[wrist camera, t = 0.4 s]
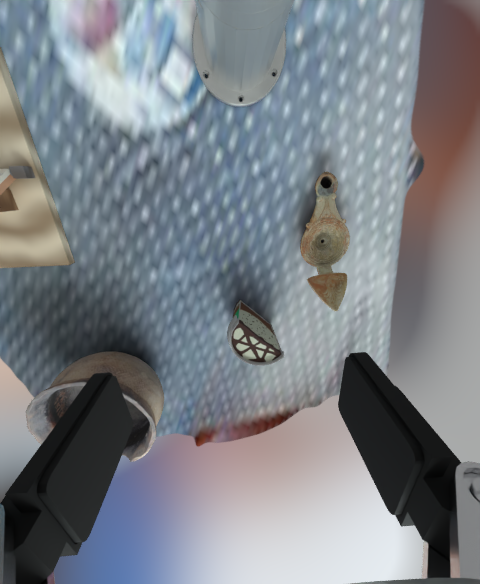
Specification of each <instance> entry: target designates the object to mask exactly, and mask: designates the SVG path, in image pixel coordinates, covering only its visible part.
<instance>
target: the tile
mask: <svg viewBox="0 0 480 584" xmlns="http://www.w3.org/2000/svg"><path fill="white" fill-rule="evenodd" d="M14 180H15V178H13V176H12V173H11V171H10V168H9V169H0V195H1V194H2V193H3V192H4V191H5V190H6V189H7V188H8V187H9V186H10V185H11V184H12V183H13V181H14Z"/></svg>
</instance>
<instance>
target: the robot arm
mask: <svg viewBox="0 0 480 584" xmlns="http://www.w3.org/2000/svg"><path fill="white" fill-rule="evenodd" d="M195 2H196V7H197V16H196V19H195V23H194V29H193V53H194V59H195V63H196V67H197V70H198V73H199V75H200V78H201V80H202V81H203V83H204V85H205V86H206V88H207V89H208V90H209V92H210V93H211V94H212V95H213V96H214V97H215V98H217V99H218V100H219V101H221V102H223V103H225V104H227V105H230V106H234V107H246V106H250V105H253V104H255V103H257V102H259V101H260V100H262V99H263V98H264V97H266V95H267V94H268V93H269V92H270V91H271V90H272V88H273V87H274V85H275V83H276V82H277V80H278V78H279V76H280V73H281V70H282V67H283V64H284V59H285V54H286V34H285V25H286V22H287V19H288V17H289V14H290V11H291V8H292V5H293V2H294V0H195ZM273 73H274V74H275V77H273V76H272V74H273ZM206 75H208V78H207V79H206V78H205V76H206ZM240 98H241V99H242V100H243V101H242V102H240V101H239V99H240ZM338 407H339V411H340V413H341V415H342V418H343V420H344V422H345V424H346V426H347V428H348V430H349V432H350V434H351V436H352V438H353V440H354V442H355V444H356V446H357V448H358V450H359V452H360V454H361V456H362V458H363V460H364V462H365V464H366V466H367V469H368V471H369V472H370V475H371V477H372V479H373V480H374V483H375V485H376V487H377V489H378V491H379V493H380V495H381V497H382V499H383V501H384V503H385V505H386V507H387V509H388V511H389V512H390V513H391V514H392V515H396V517H397V519H398V521H399V523H400V525H401V526H411V525H415V526H416V528H417V530H418V532H419V534H420V535H421V537H422V539H423V540H424V546H423V566H422V579H411V580H410V579H409V580H392V581H375V582H364V583H352V584H480V463H475V462H464V463H461V462H460V461H459V459H458V458H457V457H456V456H455V455H454V453H453V452H452V451H451V450H450V449H449V448H448V446H447V445H446V444H445V443H444V442H443V440H442V439H441V438H440V437H439V436H438V434H437V433H436V432H435V431H434V430H433V429H432V427H431V426H430V425H429V424H428V423H427V421H426V420H425V419H424V418H423V417H422V416H421V414H420V413H419V412H418V411H417V410H416V408H415V407H414V406H413V405H412V404H411V402H410V401H409V400H408V399H407V398H406V396H405V395H404V394H403V393H402V392H401V391H400V390H399V389H398V388H397V387H396V386H394V385H393V384H392V383H391V381H390V380H389V379H388V378H387V376H386V375H385V374H384V373H383V372H382V370H381V369H380V368H379V367H378V366H377V364H376V363H375V362H374V361H373V359H372V358H371V357H370V356H369V355H368V354H367V353H366V352H361V353H351V354H350V355H349V357H346V359H345V364H344V370H343V377H342V383H341V390H340V396H339V402H338ZM132 427H133V420H132V417H131V415H130V412H129V409H128V407H127V404H126V401H125V399H124V396H123V393H122V391H121V388H120V385H119V383H118V380H117V377H116V376H113V375H112V373H110V372H107V373H95V374H93V375H92V376H91V378H90V379H89V380H88V382H87V383H86V384H85V386H84V387H83V388H82V390H81V391H80V393H79V394H78V395H77V397H76V398H75V399H74V401H73V402H72V404H71V405H70V406H69V408H68V409H67V410H66V412H65V413H64V414H63V416H62V417H61V419H60V420H59V421H58V423H57V424H56V425H55V427H54V428H53V430H52V431H51V432H50V434H49V435H48V436H47V438H46V439H45V441H44V442H43V443H42V445H41V446H40V447H39V449H38V450H37V452H36V453H35V454H34V456H33V457H32V458H31V460H30V461H29V462H28V464H27V465H26V467H25V468H24V469H23V471H22V472H21V474H20V475H19V476H18V478H17V479H16V480H15V482H14V483H13V484H12V486H11V487H10V488H9V490H8V491H7V493H6V494H5V495H6V496H5V498H4V499H3V501H2V502H1V503H0V584H55V580H54V568H55V566H56V564H57V562H58V560H59V557H60V556H69V555H77V554H78V551H79V549H80V547H81V544H82V542H84V541H86V540H87V538H88V537H89V535H90V533H91V530H92V528H93V525H94V523H95V520H96V518H97V515H98V513H99V510H100V508H101V506H102V503H103V500H104V498H105V496H106V493H107V491H108V488H109V486H110V483H111V481H112V478H113V476H114V473H115V471H116V468H117V466H118V463H119V461H120V458H121V456H122V453H123V451H124V448H125V446H126V443H127V441H128V438H129V436H130V433H131V431H132Z"/></svg>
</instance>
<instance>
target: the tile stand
mask: <svg viewBox="0 0 480 584" xmlns="http://www.w3.org/2000/svg"><path fill="white" fill-rule="evenodd" d="M9 168H10V171H11V173H12V176H13V178H15V180H14V181H13V183H12V184H11V185H10V186H9V187H8V188H7V189H6V190H5V191H4V192H3V193H2V194H1V195H0V268H11V267H34V266H56V265H71V264H73V263H75V261H74V259H73V256H72V253H71V250H70V247H69V244H68V241H67V238H66V235H65V232H64V230H63V227H62V224H61V221H60V218H59V215H58V212H57V209H56V206H55V203H54V201H53V198H52V195H51V192H50V189H49V186H48V183H47V180H46V177H45V174H44V172H43V169H42V166H41V163H40V160H39V157H38V154H37V151H36V148H35V145H34V143H33V140H32V137H31V134H30V131H29V128H28V125H27V122H26V119H25V116H24V114H23V111H22V108H21V105H20V102H19V99H18V96H17V93H16V90H15V87H14V85H13V82H12V79H11V76H10V73H9V70H8V67H7V64H6V61H5V58H4V56H3V53H2V50H1V47H0V169H9Z"/></svg>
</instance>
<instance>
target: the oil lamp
mask: <svg viewBox="0 0 480 584" xmlns="http://www.w3.org/2000/svg"><path fill="white" fill-rule="evenodd" d="M337 186H338V182H337V179H336V177H335V176H334V175H333V174H331V173H329V172H327V171H326V172H324V173H322V174H321V175H320V176H319V178H318V179H317V181H316V185H315V190H316V195H317V198H316V206H315V209H314V212H313V215H312V217H311V219H310V222H309V223H307V224H306V230H305V232H304V234H303V236H302V239H301V245H300V249H301V254H302V256H303V258H304V260H305V261H306V262H307V263H309V264H310V265H312V266H315V267H317V271H318V274H319V275H317V276H313V277H310V278H308V279H307V281H308V283H309V285H310V286H311V288H312V289H313V291H314V292H315V293H316V294H317V295H318V297H319V298H320V299H321V300H322V301H323V302H324V303H325V304H326V305H327V306H329V307H330V308H331V309H332V310H334V311H338V309H339V306H340V304H341V302H342V300H343V297H344V294H345V291H346V286H347V275H346V274H345V273H333V271H332V268H331V266H332V265H333V264H335V263H336V262H338V261H339V260H340V259H341V258H342V257H343V255H344V254H345V253H346V251H347V249H348V246H349V241H350V235H349V231H348V229H347V227H346V226H345V224H344V223H345V222H346V220H345V219H342V218H341V217H340V215H339V213H338V211H337V208H336V204H335V198H336V197H337V196H336V194H335V192H336V190H337Z"/></svg>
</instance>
